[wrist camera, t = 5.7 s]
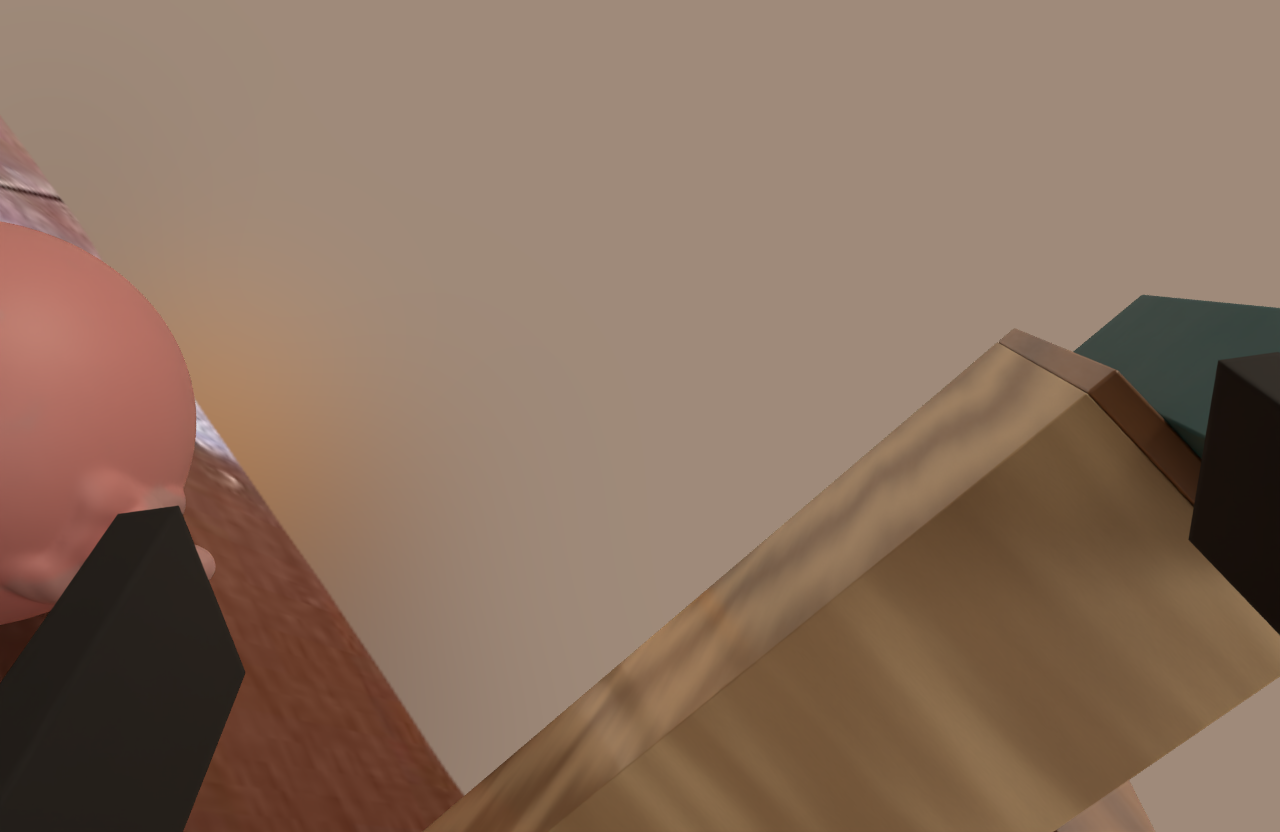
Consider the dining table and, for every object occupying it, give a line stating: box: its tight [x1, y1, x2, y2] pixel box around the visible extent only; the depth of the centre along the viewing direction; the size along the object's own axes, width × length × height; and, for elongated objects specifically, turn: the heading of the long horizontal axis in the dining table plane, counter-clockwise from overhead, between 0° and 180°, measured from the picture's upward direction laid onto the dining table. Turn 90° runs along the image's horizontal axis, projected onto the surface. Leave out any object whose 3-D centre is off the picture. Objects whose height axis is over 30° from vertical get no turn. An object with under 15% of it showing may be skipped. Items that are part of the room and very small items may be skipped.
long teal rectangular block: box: [1074, 295, 1280, 459], centre depth 24 cm, size 22×4×4 cm, turn 162°
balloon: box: [0, 222, 215, 625], centre depth 38 cm, size 15×20×15 cm
